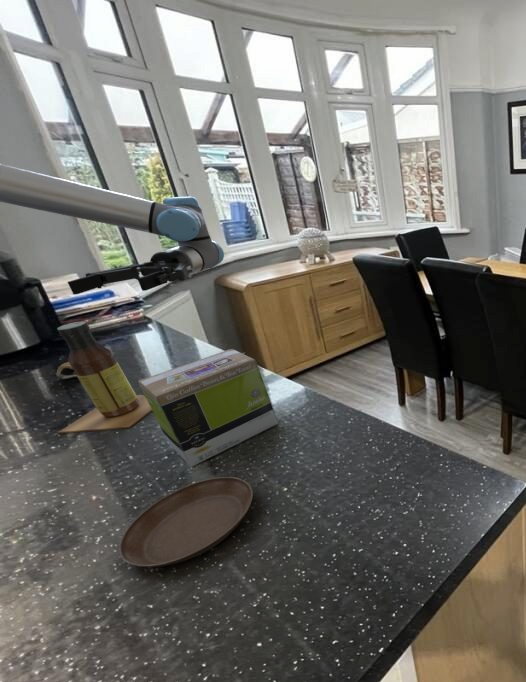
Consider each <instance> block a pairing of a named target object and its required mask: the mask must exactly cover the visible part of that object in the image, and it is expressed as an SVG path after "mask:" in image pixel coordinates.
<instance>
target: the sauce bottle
mask: <svg viewBox="0 0 526 682" xmlns="http://www.w3.org/2000/svg"><path fill="white" fill-rule="evenodd" d="M56 329H57V331H58V334H59V336H61V337H62V338H63V339H64V341H65V343H66V344H67V345H68V346H67V347H68V349H69V354H68V359H67V362H69V363H70V365H71V366H72V368H73V370H74V371H75V373H76V376H77V377H76V378H77V379H78V381H79V382H80V383H81V385H82V387H83V388H84V390H85V392H86V393H87V395H88V396H89V398H90V400H91V401H92V403H93V405H94V407H95V408H97V409H98V411H99V412H100V413H101V414H102V415H103V416H105V417H114V416H118V415H123V414H125V413H128V412H130V411H132V410H134V409H135V408H136V407H138V405H139V400H138V399H137V396H136V395H137V394H136V392H135V390H134V388H133V386H132V385H131V383H130V381H129V380H128V378H127V377H126V374H125V373H124V371H123V369H122V368H121V366H120V364H119V363H118V361H117V359H116V358H115V357H114V356H113V354H112V352H111V350H110V349H109V348H107V347H105V346H103V345H102V344H100V342H98V341H97V340H96V339H95V337H94V335H93V334H92V332H91V330H90V326H89V325H88V323H87V322H86V321H75V322H69V323H66V324H64V325H61V326H58V327H57V328H56Z"/></svg>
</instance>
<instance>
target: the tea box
mask: <svg viewBox="0 0 526 682" xmlns="http://www.w3.org/2000/svg"><path fill="white" fill-rule="evenodd" d="M137 383H138V386H139V387H140V389H141V391H142V394H143V395H145V397H146V399H147V401H148V403H149V405H150V407H151V409H152V411H151V412H153V415H154V417H155V419H156V421H157V424H158V425H159V428H160V429H161V432H162V433H163V434H164V437H165V438H166V441H167V442H168V444H169V446H170V447H171V448H172V449H173V450H174V451H175V452H176V453H177V454H178V455H179V456H180V457H181V459H183V460H184V461H185V462H186V464H187V465H189V467H191V468H193V467H194V466H196V465H198V464H200V463H202V462H204V461H207V460H209V459H211V458H212V457H215V456H217V455H218V454H220V453H222V452H225V451H226V450H229V449H230V448H232V447H235V446H237V445H238V444H240V443H243V442H244V441H246V440H249V439H250V438H253V437H254V436H257V435H259V434H260V433H262V432H265V431H266V430H268V429H270V428H272V427H275V426H277V425H278V424H279V421H278V419H277V415H276V412H275V410H274V408H273V407H274V406H273V404H272V402H271V399H270V396H269V393H268V390H267V387H266V385H265V382H264V379H263V376H262V374H261V371H260V367H259V366H258V363H257V360H256V359H255V358H252V357H250V356H248V355H246V354H244V353H242V352H240V351H237V350H235V349H234V348H231V349H227V350H224V351H221V352H219V353H215V354H213V355H210V356H206V357H203V358H201V359H198V360H195V361H192V362H189V363H186V364H182V365H179V366H177V367H174V368H171V369H168V370H166V371H163V372H159V373H157V374H154V375H150V376H148V377H145V378H142V379H139V380H137Z"/></svg>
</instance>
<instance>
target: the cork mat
mask: <svg viewBox="0 0 526 682" xmlns="http://www.w3.org/2000/svg"><path fill="white" fill-rule="evenodd" d="M136 396H137V399H138V400H139V405H138V407H136V408H135V409H134V410H132V411H130V412H128V413H125V414H123V415H118V416H114V417H105V416H103V415H102V414H101V413H100V412H99V411H98V409H97V408H96V407H95V408H94V409H92V410H91V411H89V412H87V413H86V414H84V415H83V416H81V417H80V418H78V419H76V420H75V421H73V422H72V423H70V424H69V425H67V426H65V427H64V428H63V429H61V430H59V431H58V434H70V433H71V434H72V433H85V432H98V431H111V430H113V431H114V430H123V429H130V428H132V427H133V426H134V425H136V424H137V423H138V422H140V421H141V420H143V418H145V417H147V415H149V414H150V413H152V412H153V411H152V409H151V407H150V405H149V403H148V401H147V399H146V397H145V395H144V394H136Z"/></svg>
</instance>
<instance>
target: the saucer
mask: <svg viewBox="0 0 526 682" xmlns="http://www.w3.org/2000/svg"><path fill="white" fill-rule="evenodd" d="M253 497H254V492H253V489H252V486H251V485H250V483H249V482H247V481H246V480H244V479H243V478H240V477H235V476H218V477H212V478H211V477H210V478H207V479H203V480H199V481H197V482H193V483H190V484H188V485H185V486H182V487H180V488H179V489H176V490H174V491H173V492H171V493H168V494H166V495H165V496H163V497H162V498H160V499H159V500H157V501H156V502H154V503H153V504H151V505H150V506H149V507H147V508H146V509H145V510H143V511H142V512H141V513H140V514H139V515H138V516H137V517H135V519H134V520H133V521H132V522H131V523H130V525H129V526H128V527H127V528H126V530H125V531H124V532H123V534H122V537H121V538H120V542H119V546H118V554H119V556H120V558H121V560H122V561H124V562H125V563H126V564H129V565H132V566H137V567H144V568H156V567H157V568H158V567H166V566H170V565H171V566H172V565H176V564H179V563H182V562H186V561H188V560H191V559H193V558H197V557H198V556H200V555H202V554H204V553H206V552H207V551H209V550H211V549H212V548H214V547H216V546H217V545H218V544H219V543H221V542H222V541H224V540H225V539H226V538H227V537H228V536H229V535H231V533H232V532H233V531H234V530H235V529H236V528H237V527H238V526H239V525H240V523H241V522H242V521H243V519H244V518H245V516H246V515H247V514H248V511H249V510H250V507H251V505H252V501H253Z"/></svg>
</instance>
